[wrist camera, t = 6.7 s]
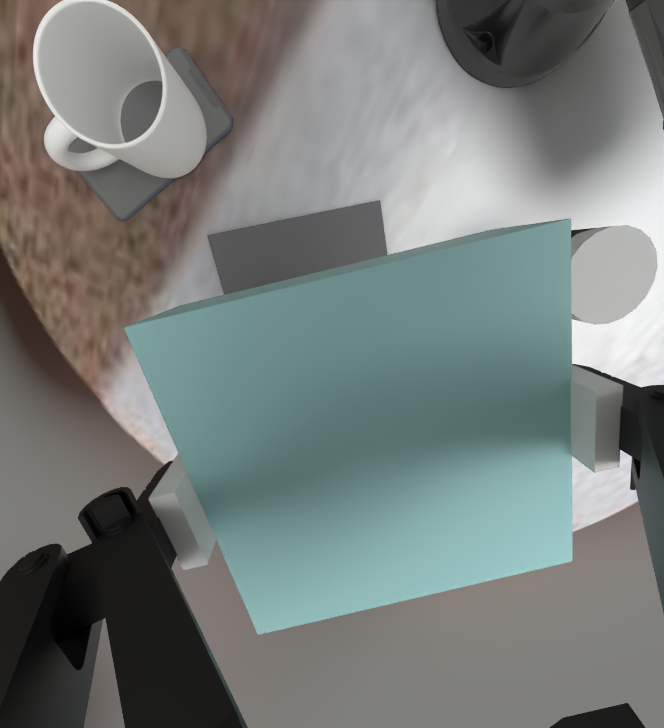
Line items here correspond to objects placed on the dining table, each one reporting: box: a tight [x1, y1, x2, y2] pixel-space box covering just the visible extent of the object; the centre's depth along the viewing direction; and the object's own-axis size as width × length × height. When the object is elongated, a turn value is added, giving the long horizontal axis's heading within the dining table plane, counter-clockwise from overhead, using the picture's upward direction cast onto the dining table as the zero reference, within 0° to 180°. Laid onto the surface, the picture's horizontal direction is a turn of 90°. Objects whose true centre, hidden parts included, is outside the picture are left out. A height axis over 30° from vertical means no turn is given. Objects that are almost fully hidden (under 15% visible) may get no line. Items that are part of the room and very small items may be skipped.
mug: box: [33, 0, 207, 178], centre depth 27 cm, size 12×8×10 cm
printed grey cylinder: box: [571, 225, 657, 324], centre depth 31 cm, size 7×7×15 cm
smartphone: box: [68, 47, 233, 220], centre depth 32 cm, size 8×1×15 cm
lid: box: [124, 219, 572, 634], centre depth 13 cm, size 12×12×5 cm
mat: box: [207, 200, 387, 295], centre depth 37 cm, size 18×18×1 cm
